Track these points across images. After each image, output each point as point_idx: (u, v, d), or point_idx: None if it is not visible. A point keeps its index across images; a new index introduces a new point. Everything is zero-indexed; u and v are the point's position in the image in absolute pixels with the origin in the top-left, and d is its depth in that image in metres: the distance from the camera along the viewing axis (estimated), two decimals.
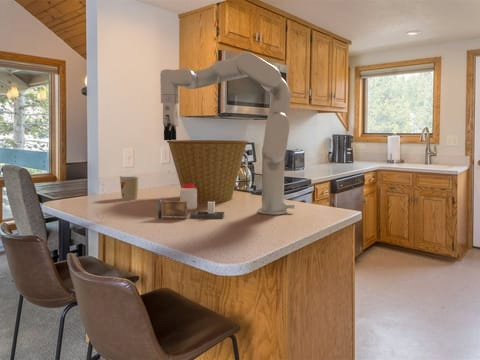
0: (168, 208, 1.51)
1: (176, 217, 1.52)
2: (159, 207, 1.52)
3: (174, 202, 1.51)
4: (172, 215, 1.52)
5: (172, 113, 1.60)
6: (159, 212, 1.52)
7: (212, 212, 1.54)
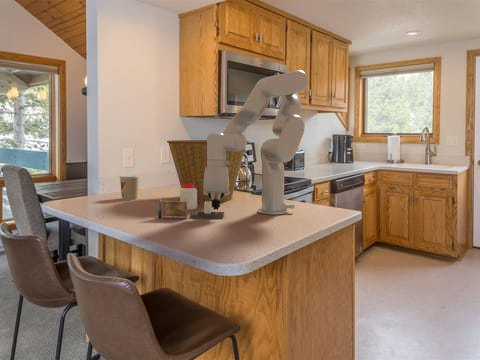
0: (168, 208, 1.51)
1: (176, 217, 1.52)
2: (159, 207, 1.52)
3: (174, 202, 1.51)
4: (172, 215, 1.52)
5: None
6: (159, 212, 1.52)
7: (208, 212, 1.55)
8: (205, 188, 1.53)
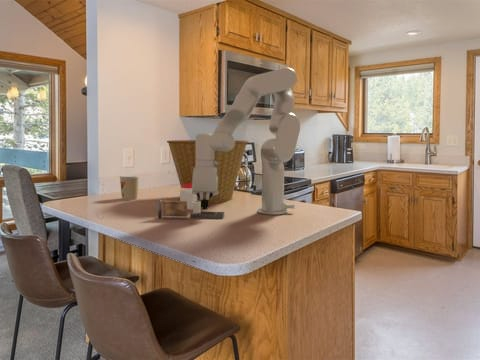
0: (168, 208, 1.51)
1: (176, 217, 1.52)
2: (159, 207, 1.52)
3: (174, 202, 1.51)
4: (172, 215, 1.52)
5: None
6: (159, 212, 1.52)
7: (197, 212, 1.55)
8: (194, 188, 1.53)
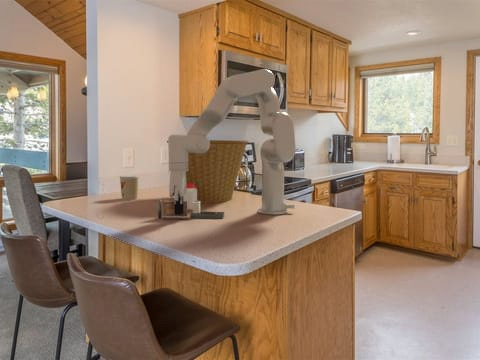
0: (168, 208, 1.52)
1: (176, 217, 1.52)
2: (159, 207, 1.52)
3: (174, 202, 1.52)
4: (172, 215, 1.52)
5: None
6: (159, 212, 1.52)
7: (197, 212, 1.55)
8: (182, 193, 1.44)
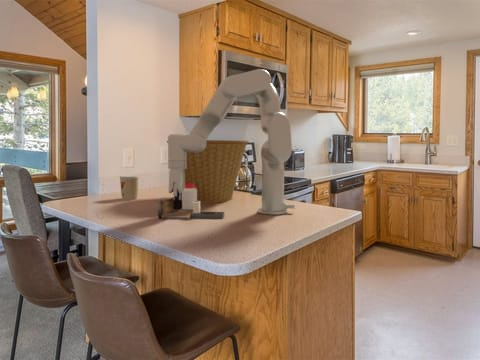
0: (167, 206, 1.55)
1: (176, 217, 1.52)
2: (159, 207, 1.52)
3: (170, 199, 1.57)
4: (169, 212, 1.57)
5: None
6: (159, 212, 1.52)
7: (197, 212, 1.55)
8: (180, 189, 1.53)
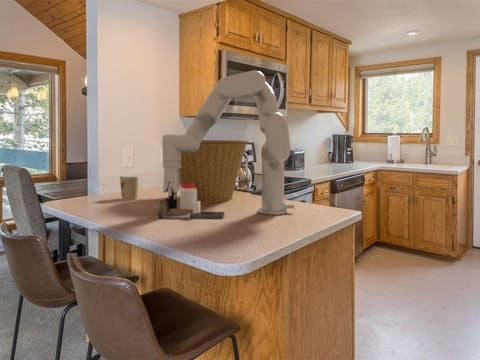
0: (164, 206, 1.56)
1: (176, 217, 1.52)
2: (159, 207, 1.52)
3: (166, 199, 1.58)
4: (166, 212, 1.58)
5: None
6: (159, 212, 1.52)
7: (197, 212, 1.55)
8: (175, 189, 1.55)
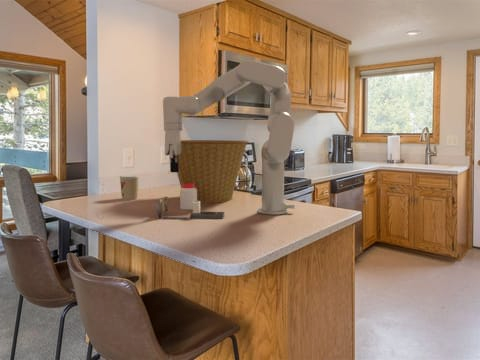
0: (163, 206, 1.56)
1: (176, 217, 1.52)
2: (159, 207, 1.52)
3: (164, 199, 1.58)
4: (164, 212, 1.58)
5: None
6: (159, 212, 1.52)
7: (197, 212, 1.55)
8: (176, 151, 1.54)
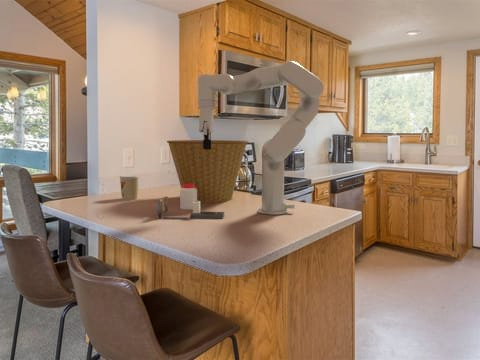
0: (163, 206, 1.56)
1: (176, 217, 1.52)
2: (159, 207, 1.52)
3: (164, 199, 1.58)
4: (164, 212, 1.58)
5: None
6: (159, 212, 1.52)
7: (197, 212, 1.55)
8: (210, 128, 1.57)
